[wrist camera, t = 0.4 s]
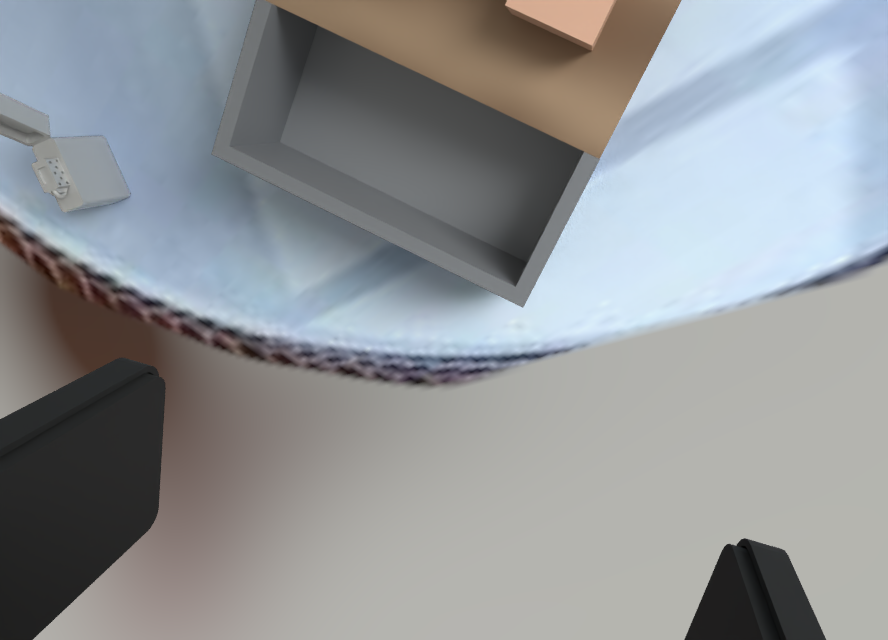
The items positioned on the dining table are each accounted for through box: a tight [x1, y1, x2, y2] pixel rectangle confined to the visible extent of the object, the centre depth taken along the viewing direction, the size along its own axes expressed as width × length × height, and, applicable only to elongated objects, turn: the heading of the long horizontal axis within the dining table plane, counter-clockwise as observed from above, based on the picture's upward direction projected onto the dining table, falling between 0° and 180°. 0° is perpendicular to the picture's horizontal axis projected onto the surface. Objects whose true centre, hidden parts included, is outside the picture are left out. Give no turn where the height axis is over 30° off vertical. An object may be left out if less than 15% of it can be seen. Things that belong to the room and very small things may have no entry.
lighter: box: [0, 93, 131, 212], centre depth 39 cm, size 7×2×8 cm, turn 20°
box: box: [212, 0, 600, 307], centre depth 35 cm, size 8×18×6 cm, turn 66°
